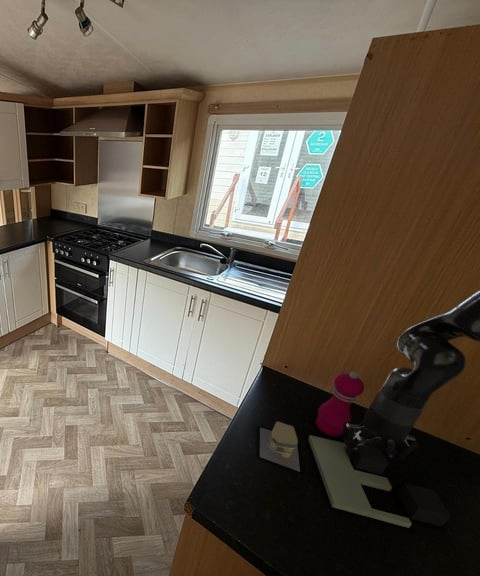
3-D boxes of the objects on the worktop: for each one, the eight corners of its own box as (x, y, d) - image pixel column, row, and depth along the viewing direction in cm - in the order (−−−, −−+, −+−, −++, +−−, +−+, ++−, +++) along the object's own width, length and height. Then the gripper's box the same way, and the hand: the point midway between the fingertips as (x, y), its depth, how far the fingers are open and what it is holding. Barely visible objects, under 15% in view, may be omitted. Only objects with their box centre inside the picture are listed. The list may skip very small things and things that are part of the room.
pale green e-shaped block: (369, 452, 80) (371, 448, 80) (408, 528, 65) (412, 524, 64) (307, 438, 84) (309, 435, 83) (331, 507, 69) (334, 503, 68)
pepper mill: (309, 426, 88) (334, 371, 79) (317, 412, 92) (341, 359, 83) (340, 443, 83) (370, 386, 74) (347, 428, 87) (375, 372, 78)
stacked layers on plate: (260, 427, 87) (264, 413, 85) (296, 439, 84) (302, 425, 81) (259, 457, 79) (264, 442, 77) (300, 472, 76) (306, 457, 73)
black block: (425, 500, 70) (434, 490, 68) (441, 526, 65) (451, 516, 64) (396, 493, 71) (404, 482, 70) (410, 518, 67) (418, 507, 65)
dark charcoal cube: (371, 454, 79) (377, 444, 77) (381, 474, 74) (388, 464, 72) (346, 449, 80) (352, 438, 78) (355, 468, 75) (361, 457, 74)
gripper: (422, 406, 71) (390, 455, 78) (349, 392, 74) (325, 440, 82) (444, 433, 64) (407, 483, 72) (363, 416, 68) (336, 466, 75)
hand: (364, 460), depth 77 cm, fingers closed on dark charcoal cube, 5 cm apart
